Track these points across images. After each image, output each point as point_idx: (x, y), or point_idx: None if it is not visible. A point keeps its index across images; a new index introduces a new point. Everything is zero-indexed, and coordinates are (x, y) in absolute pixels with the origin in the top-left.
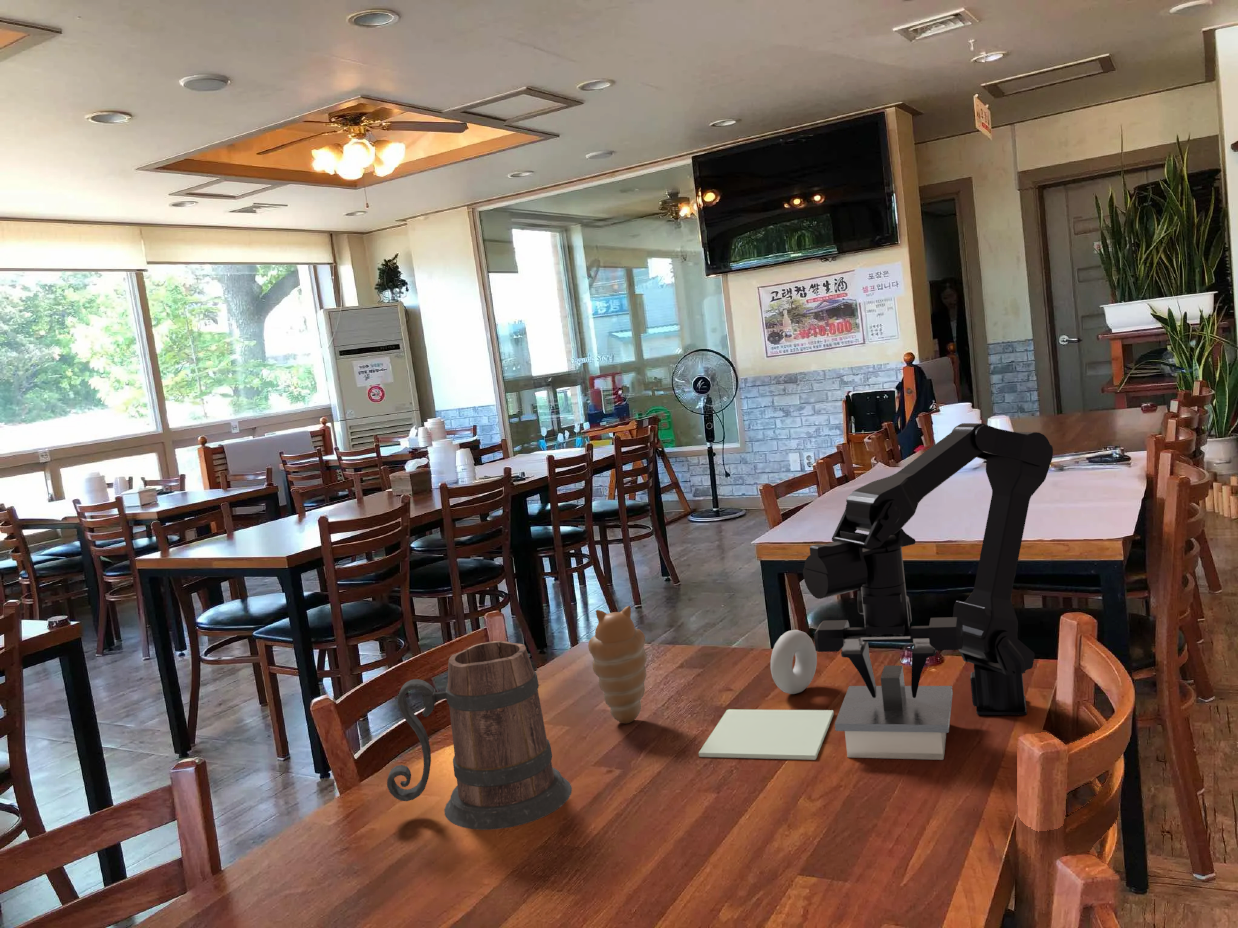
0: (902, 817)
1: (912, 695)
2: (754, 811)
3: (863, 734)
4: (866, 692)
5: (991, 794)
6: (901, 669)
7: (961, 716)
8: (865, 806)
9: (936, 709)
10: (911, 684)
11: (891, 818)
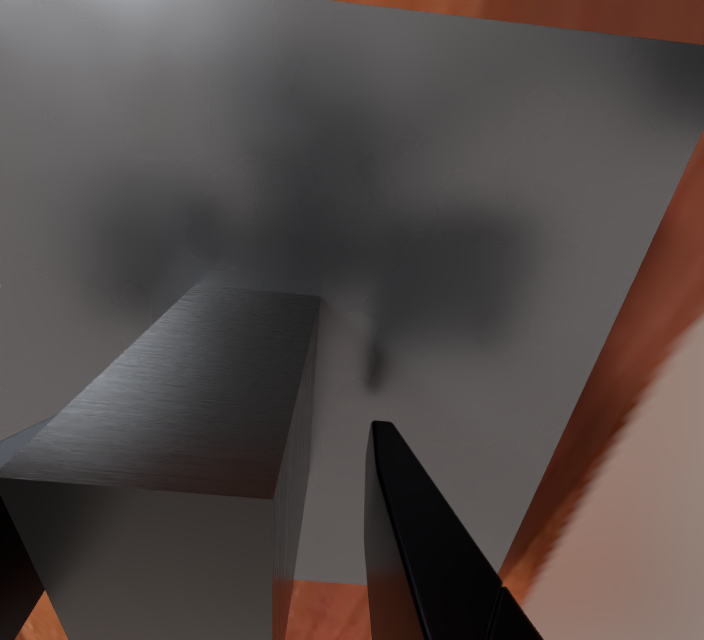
0: (321, 634)
1: (365, 475)
2: (33, 615)
3: None
4: (2, 163)
5: (506, 583)
6: (271, 603)
7: (621, 11)
8: None
9: (478, 470)
10: (368, 590)
11: (301, 635)
